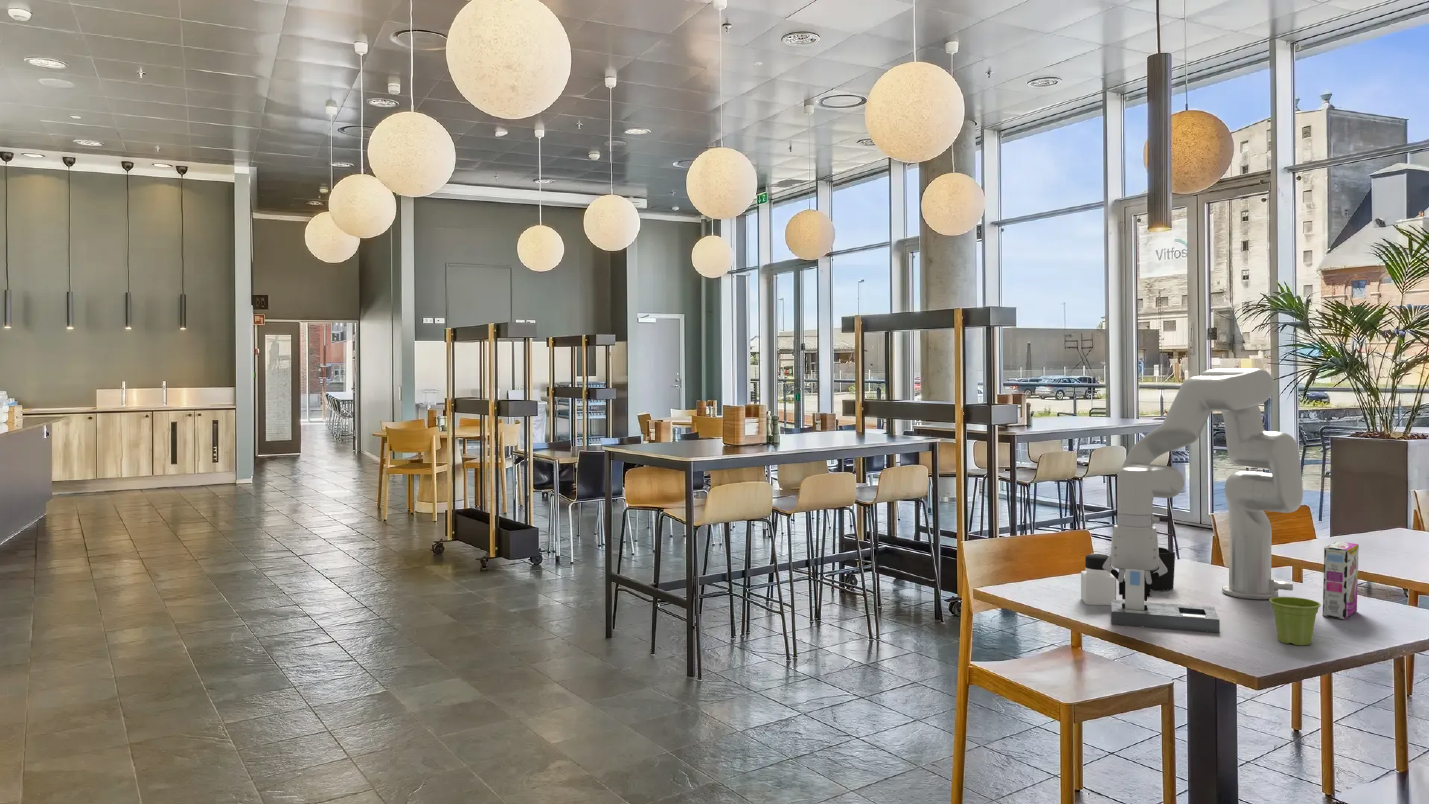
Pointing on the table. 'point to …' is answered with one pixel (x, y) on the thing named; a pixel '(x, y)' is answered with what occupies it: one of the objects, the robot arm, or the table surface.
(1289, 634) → the plant pot
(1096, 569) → the medicine bottle
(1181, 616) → the jack panel
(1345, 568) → the candy bar box
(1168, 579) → the pen holder
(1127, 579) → the plug
